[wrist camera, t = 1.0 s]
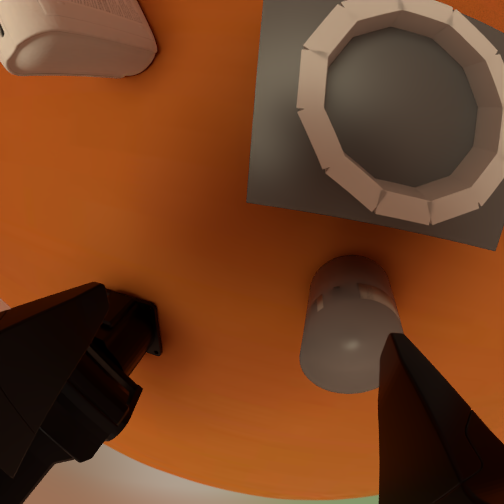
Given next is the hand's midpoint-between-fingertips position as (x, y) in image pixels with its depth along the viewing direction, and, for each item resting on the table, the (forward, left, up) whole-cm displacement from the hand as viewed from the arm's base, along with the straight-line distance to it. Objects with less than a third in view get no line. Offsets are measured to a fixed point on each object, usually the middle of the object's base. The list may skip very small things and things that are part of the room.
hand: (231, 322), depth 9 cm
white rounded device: (+13, +14, -13) cm, 23 cm away
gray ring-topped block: (+7, -5, -13) cm, 15 cm away
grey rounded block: (-6, -5, -13) cm, 15 cm away
